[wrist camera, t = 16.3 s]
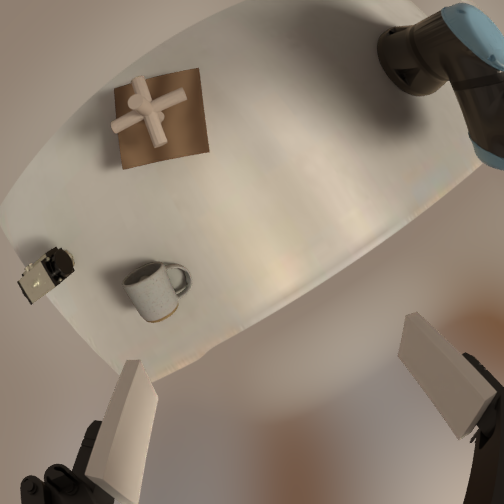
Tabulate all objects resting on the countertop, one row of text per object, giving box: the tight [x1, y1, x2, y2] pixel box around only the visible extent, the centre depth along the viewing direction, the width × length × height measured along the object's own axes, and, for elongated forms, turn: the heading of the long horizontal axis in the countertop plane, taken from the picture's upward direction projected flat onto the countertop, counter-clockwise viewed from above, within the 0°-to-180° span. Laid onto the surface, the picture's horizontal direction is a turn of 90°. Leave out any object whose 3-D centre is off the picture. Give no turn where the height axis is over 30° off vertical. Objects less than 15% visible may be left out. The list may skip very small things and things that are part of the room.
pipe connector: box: [111, 76, 187, 148], centre depth 29 cm, size 10×10×10 cm
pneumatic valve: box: [18, 247, 75, 305], centre depth 39 cm, size 6×12×12 cm, turn 116°
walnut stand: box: [114, 68, 210, 170], centre depth 37 cm, size 13×13×5 cm
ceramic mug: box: [122, 262, 192, 323], centre depth 44 cm, size 11×8×8 cm
